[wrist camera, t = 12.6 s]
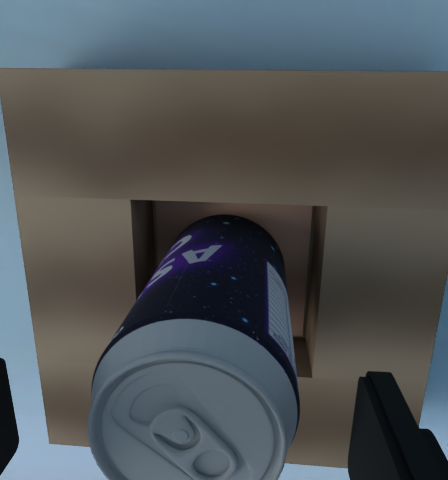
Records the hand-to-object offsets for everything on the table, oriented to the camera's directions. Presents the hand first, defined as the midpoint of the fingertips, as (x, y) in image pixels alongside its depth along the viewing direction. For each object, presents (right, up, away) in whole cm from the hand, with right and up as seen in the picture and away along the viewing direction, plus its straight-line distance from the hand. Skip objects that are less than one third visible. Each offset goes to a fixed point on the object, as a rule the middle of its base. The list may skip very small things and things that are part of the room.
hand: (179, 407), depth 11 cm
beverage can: (+1, +3, +11) cm, 11 cm away
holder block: (+2, +3, +12) cm, 12 cm away
